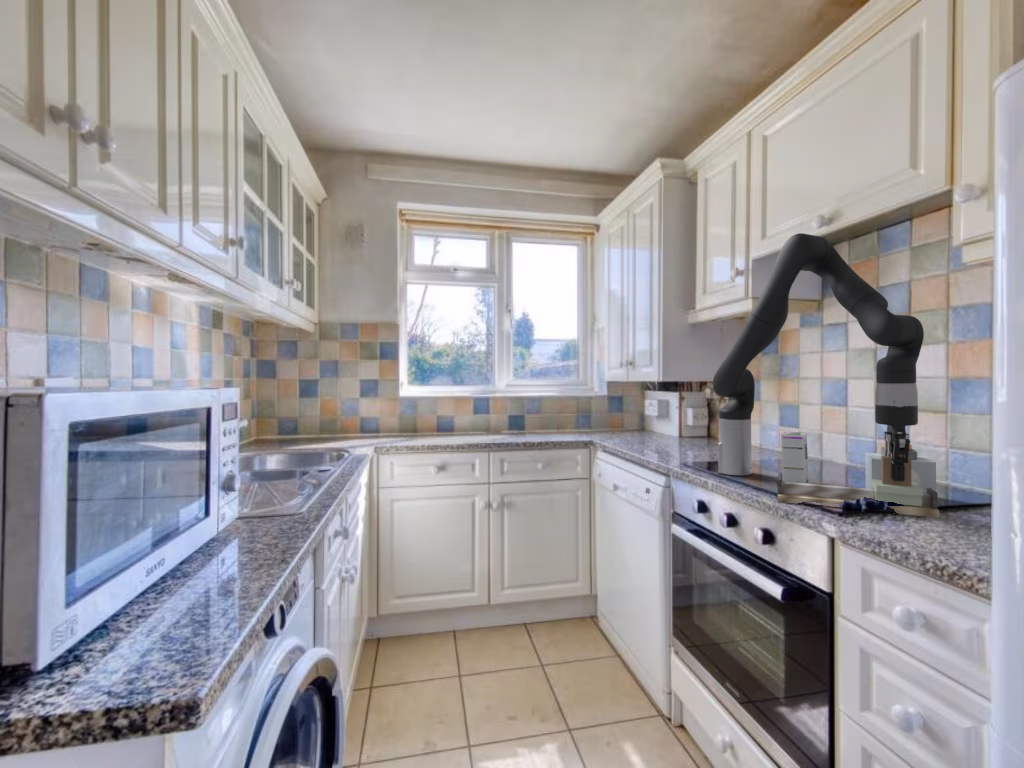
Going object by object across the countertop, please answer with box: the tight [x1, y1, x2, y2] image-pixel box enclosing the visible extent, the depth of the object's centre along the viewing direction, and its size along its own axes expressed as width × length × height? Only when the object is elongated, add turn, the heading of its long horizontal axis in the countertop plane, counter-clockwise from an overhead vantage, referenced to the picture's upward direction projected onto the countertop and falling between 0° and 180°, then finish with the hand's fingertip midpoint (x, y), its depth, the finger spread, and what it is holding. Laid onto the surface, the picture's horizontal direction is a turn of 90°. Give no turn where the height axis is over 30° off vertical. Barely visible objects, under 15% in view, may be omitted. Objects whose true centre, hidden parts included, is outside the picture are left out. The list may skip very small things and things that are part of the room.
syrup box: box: [780, 431, 809, 484], centre depth 132 cm, size 6×6×14 cm
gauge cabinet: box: [864, 446, 937, 493], centre depth 117 cm, size 12×11×12 cm
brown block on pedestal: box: [872, 456, 923, 506], centre depth 107 cm, size 8×7×10 cm
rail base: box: [777, 475, 941, 519], centre depth 111 cm, size 30×8×5 cm, turn 60°
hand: (896, 479), depth 107 cm, fingers open, 3 cm apart
